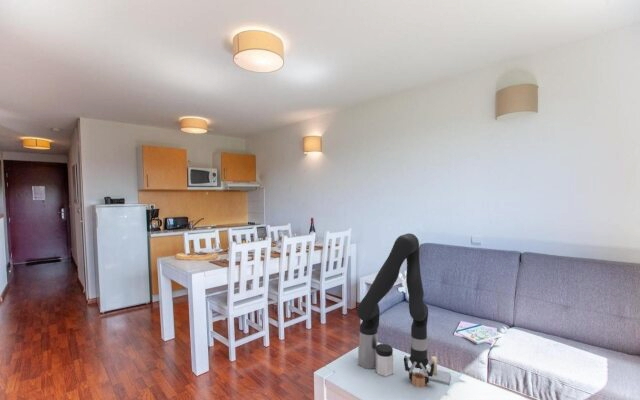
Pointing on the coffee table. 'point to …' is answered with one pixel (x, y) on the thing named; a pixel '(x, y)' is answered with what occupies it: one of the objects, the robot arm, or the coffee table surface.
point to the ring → (418, 379)
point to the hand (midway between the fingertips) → (418, 381)
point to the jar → (384, 359)
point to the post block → (438, 374)
